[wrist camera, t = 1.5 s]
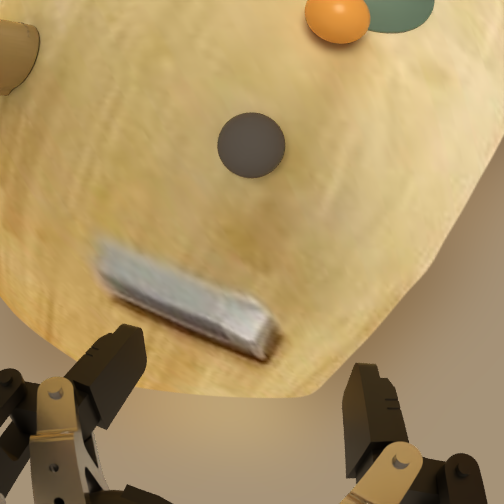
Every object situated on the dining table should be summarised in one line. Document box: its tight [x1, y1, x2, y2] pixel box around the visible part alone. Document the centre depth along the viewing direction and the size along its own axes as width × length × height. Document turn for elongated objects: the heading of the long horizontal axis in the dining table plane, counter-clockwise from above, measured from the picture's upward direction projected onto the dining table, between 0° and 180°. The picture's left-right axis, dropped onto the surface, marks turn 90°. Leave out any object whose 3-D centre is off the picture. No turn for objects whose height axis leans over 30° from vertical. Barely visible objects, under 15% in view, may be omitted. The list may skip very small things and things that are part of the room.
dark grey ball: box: [218, 113, 285, 178], centre depth 24 cm, size 6×6×6 cm
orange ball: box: [305, 0, 370, 44], centre depth 19 cm, size 6×6×6 cm
